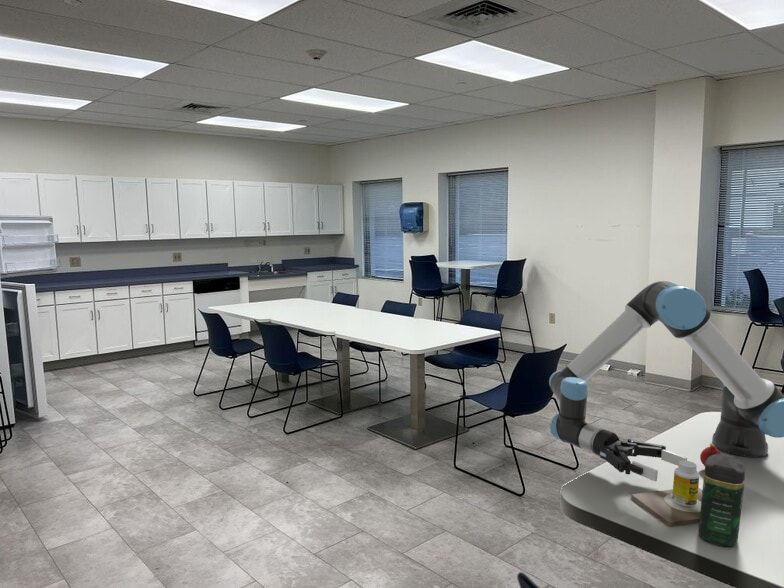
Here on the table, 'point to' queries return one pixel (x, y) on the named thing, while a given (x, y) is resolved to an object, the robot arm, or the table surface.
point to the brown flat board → (669, 507)
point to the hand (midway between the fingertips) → (671, 469)
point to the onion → (708, 453)
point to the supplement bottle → (685, 484)
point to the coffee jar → (721, 499)
